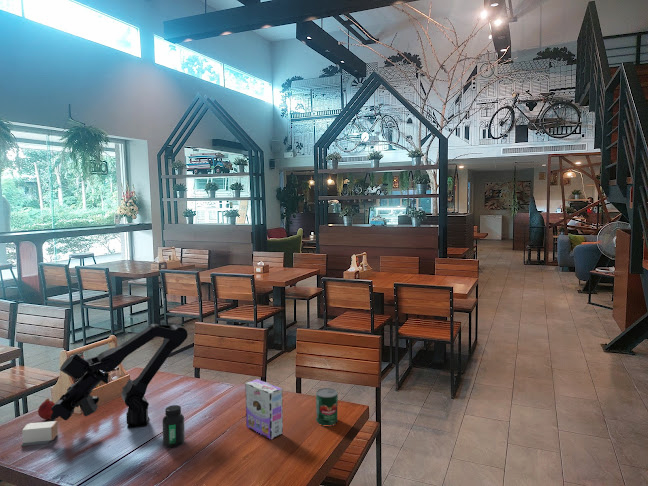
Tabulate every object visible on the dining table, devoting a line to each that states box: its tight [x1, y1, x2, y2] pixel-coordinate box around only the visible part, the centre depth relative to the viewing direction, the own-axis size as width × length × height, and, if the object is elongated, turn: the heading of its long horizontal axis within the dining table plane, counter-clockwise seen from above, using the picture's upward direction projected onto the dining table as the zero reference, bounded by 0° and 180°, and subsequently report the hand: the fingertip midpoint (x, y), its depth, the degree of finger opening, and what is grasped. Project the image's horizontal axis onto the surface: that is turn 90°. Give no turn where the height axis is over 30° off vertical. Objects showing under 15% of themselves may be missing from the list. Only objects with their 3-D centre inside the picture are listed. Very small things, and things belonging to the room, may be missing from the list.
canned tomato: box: [315, 387, 339, 426], centre depth 166 cm, size 8×8×11 cm
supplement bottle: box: [162, 404, 186, 449], centre depth 151 cm, size 7×7×12 cm
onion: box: [37, 397, 56, 421], centre depth 167 cm, size 6×6×8 cm
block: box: [21, 420, 59, 444], centre depth 153 cm, size 4×4×9 cm
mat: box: [21, 440, 52, 447], centre depth 153 cm, size 8×7×1 cm
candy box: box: [244, 378, 284, 440], centre depth 159 cm, size 14×6×16 cm, turn 47°
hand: (51, 419), depth 153 cm, fingers closed
